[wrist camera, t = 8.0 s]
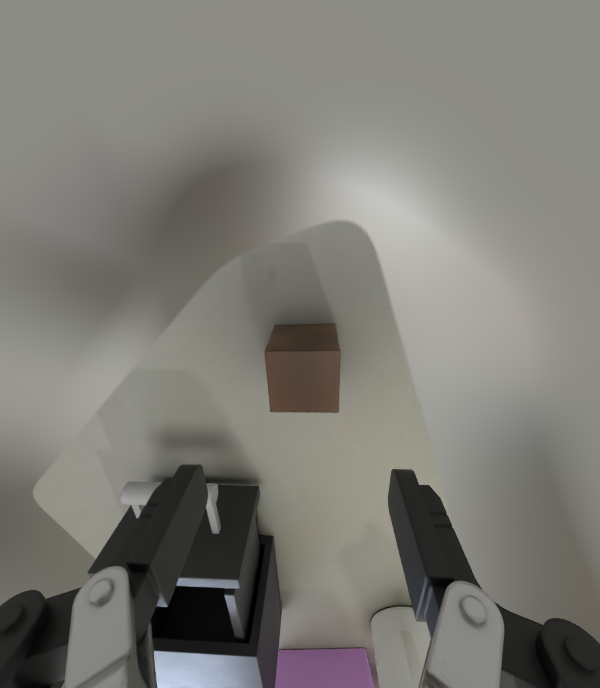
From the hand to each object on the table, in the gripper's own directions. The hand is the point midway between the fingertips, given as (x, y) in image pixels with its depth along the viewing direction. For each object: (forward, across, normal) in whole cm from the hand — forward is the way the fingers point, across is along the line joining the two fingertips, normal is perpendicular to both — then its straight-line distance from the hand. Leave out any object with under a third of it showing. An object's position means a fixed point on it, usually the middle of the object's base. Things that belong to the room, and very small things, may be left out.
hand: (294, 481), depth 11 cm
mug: (+12, -11, +37) cm, 41 cm away
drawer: (+11, +11, +19) cm, 24 cm away
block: (+12, 0, 0) cm, 12 cm away
